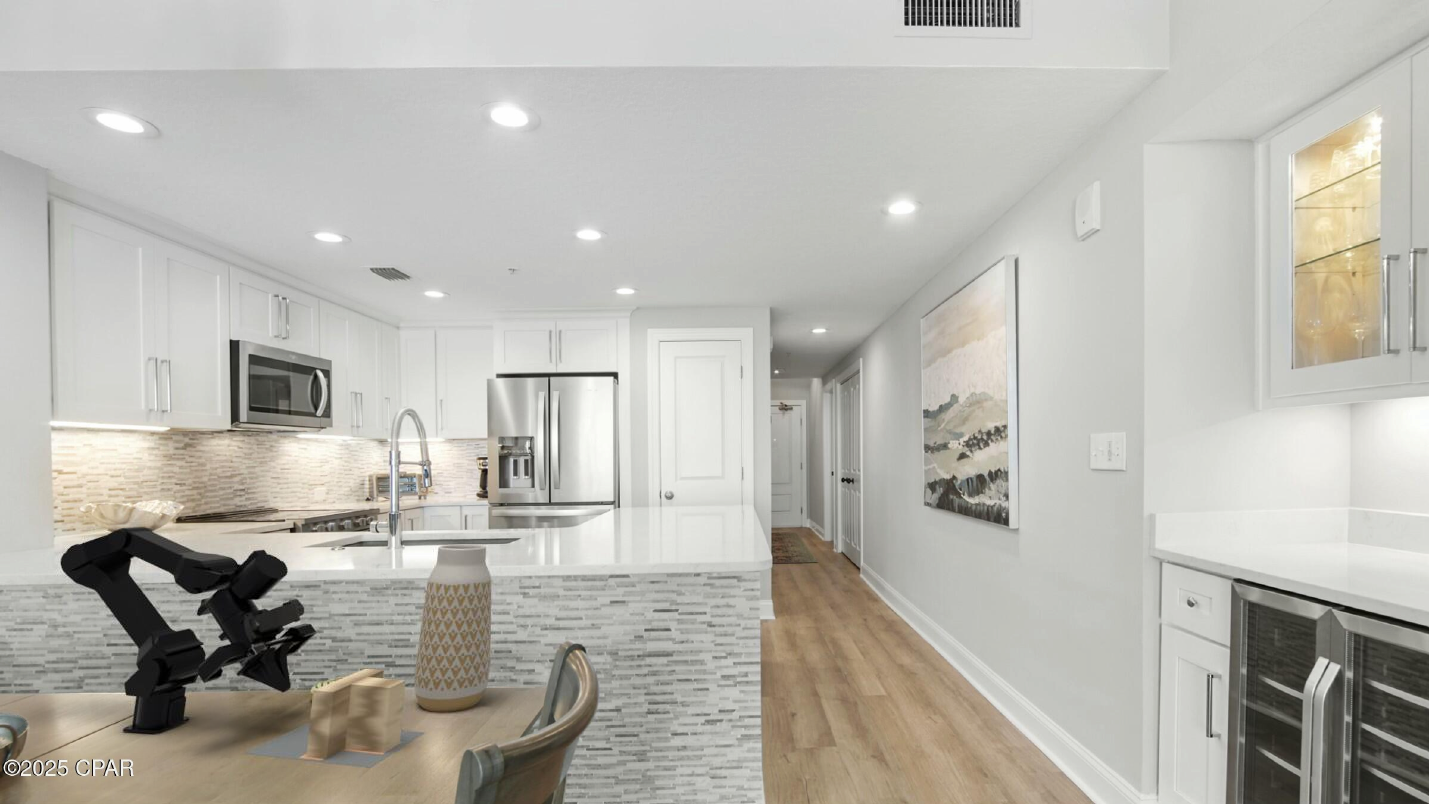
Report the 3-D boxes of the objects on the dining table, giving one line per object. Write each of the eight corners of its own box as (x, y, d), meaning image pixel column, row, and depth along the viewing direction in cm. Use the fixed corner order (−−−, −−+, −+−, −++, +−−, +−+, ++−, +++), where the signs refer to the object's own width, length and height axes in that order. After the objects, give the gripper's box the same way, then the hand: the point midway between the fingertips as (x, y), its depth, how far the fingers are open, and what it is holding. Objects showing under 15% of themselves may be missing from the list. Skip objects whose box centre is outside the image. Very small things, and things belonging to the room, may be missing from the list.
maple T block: (306, 757, 100) (313, 690, 102) (360, 728, 112) (365, 668, 113) (366, 763, 99) (373, 695, 100) (414, 734, 110) (419, 673, 112)
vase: (502, 700, 130) (512, 546, 133) (448, 723, 117) (461, 552, 121) (452, 689, 135) (463, 541, 139) (395, 709, 123) (409, 546, 127)
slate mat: (243, 757, 101) (244, 753, 101) (312, 724, 115) (312, 720, 115) (369, 771, 97) (370, 767, 97) (425, 736, 111) (425, 732, 111)
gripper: (223, 595, 102) (275, 674, 99) (313, 578, 121) (359, 644, 118) (174, 642, 103) (224, 722, 100) (271, 618, 121) (316, 685, 118)
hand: (287, 690), depth 109 cm, fingers closed
